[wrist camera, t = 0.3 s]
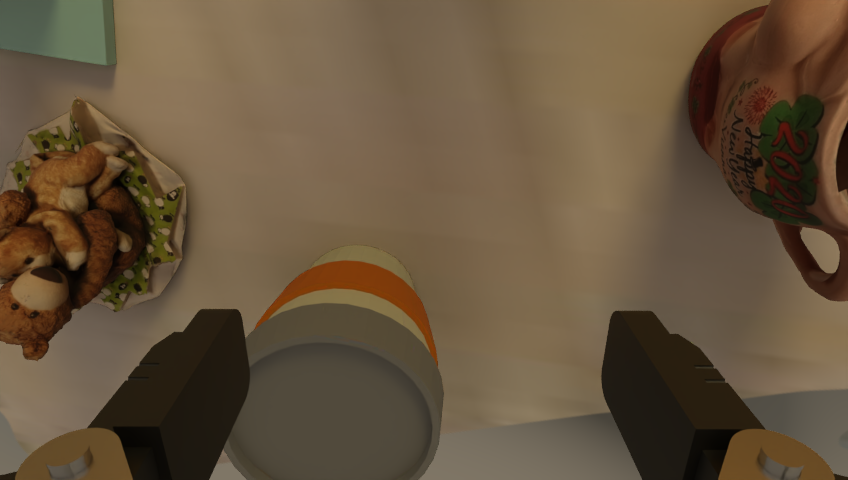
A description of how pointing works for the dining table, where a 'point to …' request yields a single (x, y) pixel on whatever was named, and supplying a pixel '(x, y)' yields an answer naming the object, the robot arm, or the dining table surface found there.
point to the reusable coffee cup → (341, 377)
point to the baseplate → (60, 29)
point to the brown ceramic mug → (782, 122)
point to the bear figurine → (83, 226)
